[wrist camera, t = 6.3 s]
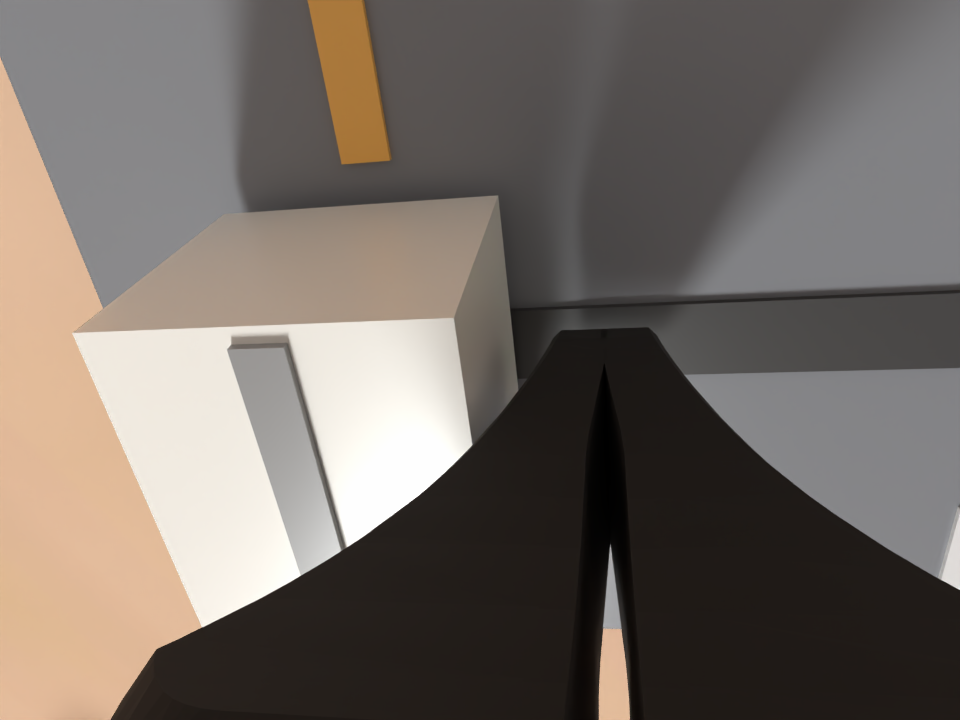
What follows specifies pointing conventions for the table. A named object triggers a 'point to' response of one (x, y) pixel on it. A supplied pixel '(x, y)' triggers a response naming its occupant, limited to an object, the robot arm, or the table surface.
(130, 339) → the fader tab
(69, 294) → the table surface
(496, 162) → the console board
